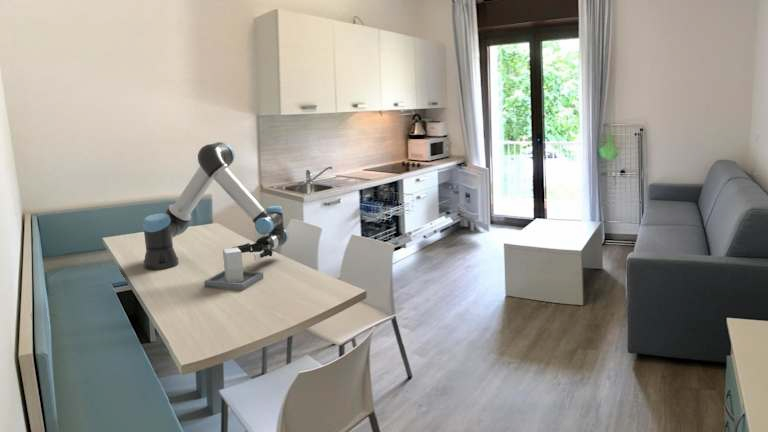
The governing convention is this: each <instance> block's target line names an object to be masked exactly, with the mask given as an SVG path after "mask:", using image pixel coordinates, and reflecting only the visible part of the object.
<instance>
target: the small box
mask: <svg viewBox="0 0 768 432" xmlns="http://www.w3.org/2000/svg"><path fill="white" fill-rule="evenodd" d="M234 247H235V248H232V247H228V248H223V249H222V254H223V255H222V256H223V267H224V269H223V271H225V279H226V280H227V282H233V283H236V282H242V281H244V278H243V271H244V270H243V269H244V267H243V256H242V254H243V253H241V250H240V249H239V248H238V247H236V246H234Z"/></svg>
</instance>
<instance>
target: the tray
mask: <svg viewBox="0 0 768 432" xmlns="http://www.w3.org/2000/svg"><path fill="white" fill-rule="evenodd" d="M243 278H244V281H242V282H236V283H233V282H227V280H226V279H225V270H223V271H221V272H219V273H217V274H214V275H213V276H211V277H209V278H207V279H205V280H204V288H205V287H206V288H213V289H224V290H225V289H226V290H236V291H245V290H247V289H248V288H250V287H251V286H254V284H256V283H258V282H259V281H261V280H263V279H264V272H261V271H249V270H248V271H247V270H243Z"/></svg>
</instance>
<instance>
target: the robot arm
mask: <svg viewBox="0 0 768 432" xmlns="http://www.w3.org/2000/svg"><path fill="white" fill-rule="evenodd" d="M234 161H235V151H234V149H233V148H232V146H230V144H228V143H226V142H221V141H220V142H219V141H218V142H214V143H211V144H206V145H203V146H202V147H201V148H200V149H199V150H198V153H197V162H198V164H199V167H198V168H197V169H196V171H195V172H194V174H193V176H192V177H191V179H190V180H189V181H188V183H187V185H186V186H185V188H184V190H183V191H182V192H181V194H180V196H179V197H178V198H177V200H176V201H175V203H174V204H173V203H172V204H169V206H168V207H167V209H166V210H165V212H164V213H154V214H150V215H148V216H146V217H144V219H143V222H142V223H143V225H142V228H143V234H144V244H145V256H144V259H143V267H145V268H144V269H146V268H147V269H146V270H151V269H153V270H156V271H157V270H164V269H169V268H173V267H175V266H178V265H179V257H178V256H177V253H176V251H175V248H174V245H173V238H175V237H177V236H179V235H181V234H183V233H185V231H186V230H187V229H188V228H189V225H190V221H191V219H192V216H191V214H192V212H193V211H194V210H195V208H196V207H197V205H198V203H199V202H200V201H201V199H202V197H203V196H204V195H205V193H206V192H207V190H208V189H209V187H210V186H211V184H212V183H213V182H214V181H215V182H216V183H217V184H218V185H219V186H220V187H221V188H222V190H223V191H224V192H225V193H226V194H227V195H228V196H229V197H230V198H231V199H232V200H233V202H234V203H235V204H236V205H237V206H238V207H239V208H240V209H241V210H242V211H243V213H244V214H245V215H246V216H247V217H248V218H249V219H250V220H251V221H252V222H253V224H254V228H255V231H256V232H257V233H258V234H260V235H263V236H261V237H259V238H258V239H257V240H256V241H255V242H254V243H252V244H251V243H250V242H247V243H246V244H241V245H238V246H232V247H231V248H235V247H238V248H239V249H240V250H241V253H242V254H244V253H255V254H254V255H253V256H254V261H255V262H257V261H259V260H261V259H262V258H264V257H268V256H269V257H272V256H273V252H274V251H275V249H276V248H277V249H278V248H279V247H281V246H283V245H284V244H286V243H287V242H288V240H289V239H290V237H289V235H290V234H289V232H288V231H287V230H286V229H285V225H284V223H285V222H284V212H283V208H282V206H281V205H270V206H269V205H268V206H267V207H266V208H264V207H263V206H262V205H261V204H260V203H259V201H257V199H256V198H255V197H254V196H253V194H251V193H250V191H248V189H247V188H246V187H245V186H244V185H243V184H242V182H241V181H240V180H239V179H238V178H237V176H235V175H234V174H233V173H232V172H231V170H230V169H229V167H230V166H231V165H232V164H233V162H234ZM153 270H152V271H153Z"/></svg>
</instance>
